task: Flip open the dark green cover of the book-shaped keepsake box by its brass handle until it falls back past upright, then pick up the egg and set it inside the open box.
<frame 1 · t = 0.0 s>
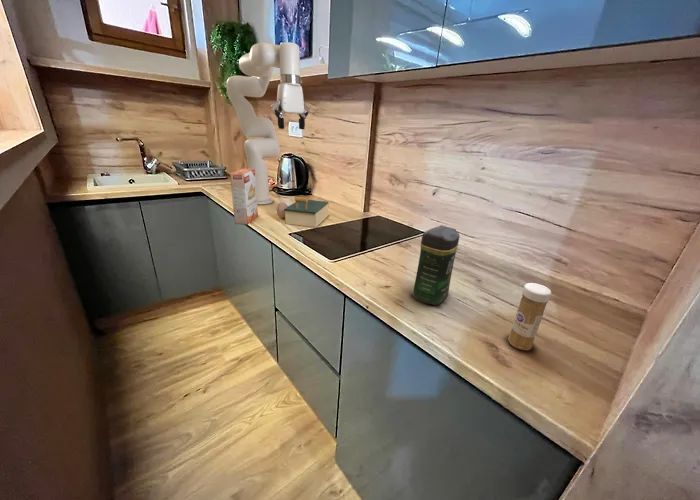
hand: (291, 128, 124), 37 cm above the table, tool pointing down, fingers open, 9 cm apart
egg: (283, 218, 136), on the table
book cover: (307, 200, 132), point 9 cm above the table, hinge at -0.1°
book box: (307, 219, 135), on the table
cracker box: (247, 220, 131), on the table
coffee jar: (430, 296, 79), on the table
sprinkles bottle: (519, 344, 63), on the table
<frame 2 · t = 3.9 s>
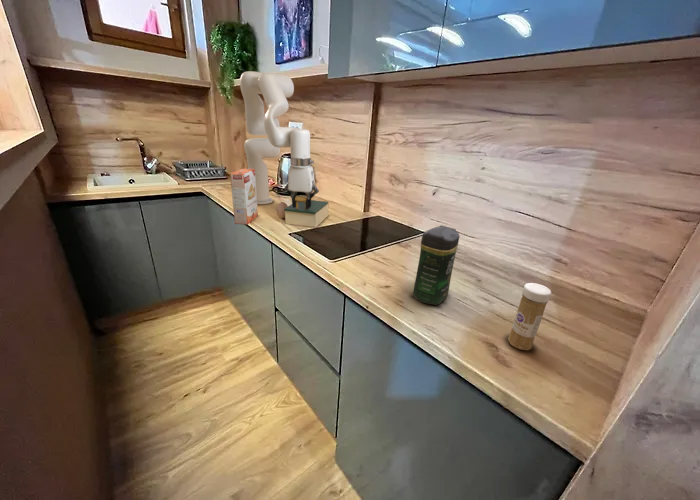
hand: (301, 207, 126), 7 cm above the table, tool pointing down, fingers closed on book cover, 5 cm apart
book cover: (307, 200, 132), point 9 cm above the table, hinge at -0.1°, touching gripper
everything else where it was.
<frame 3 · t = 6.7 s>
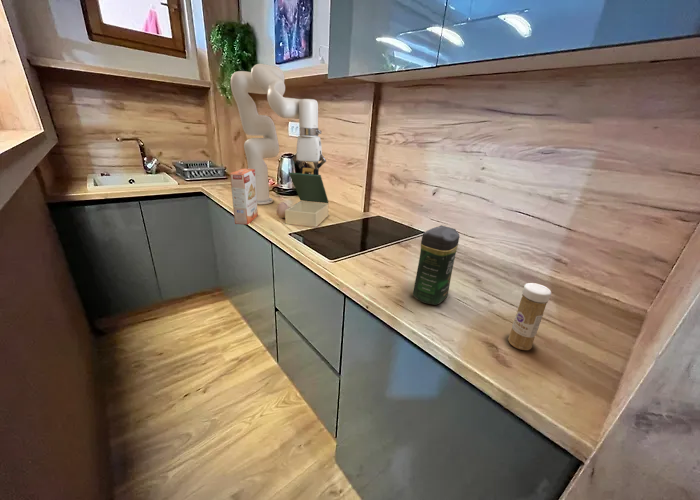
hand: (309, 177, 130), 18 cm above the table, tool pointing down, fingers closed on book cover, 5 cm apart
book cover: (311, 184, 134), point 15 cm above the table, hinge at 49.7°, touching gripper
everything else where it was.
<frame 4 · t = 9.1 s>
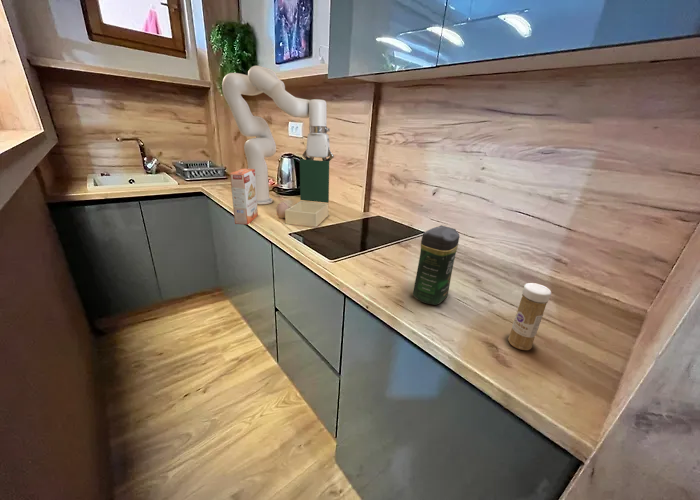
hand: (318, 172, 141), 19 cm above the table, tool pointing down, fingers closed on book cover, 5 cm apart
book cover: (316, 180, 140), point 15 cm above the table, hinge at 90.6°, touching gripper
everything else where it was.
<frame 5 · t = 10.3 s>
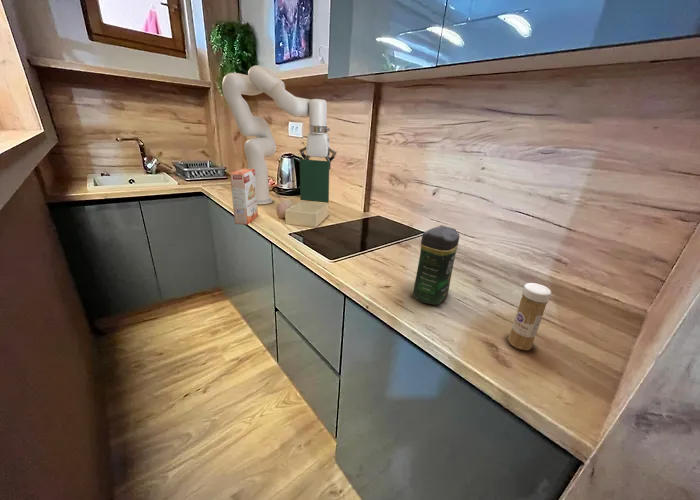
hand: (317, 169, 140), 20 cm above the table, tool pointing down, fingers open, 9 cm apart
book cover: (316, 180, 140), point 15 cm above the table, hinge at 90.7°
everything else where it was.
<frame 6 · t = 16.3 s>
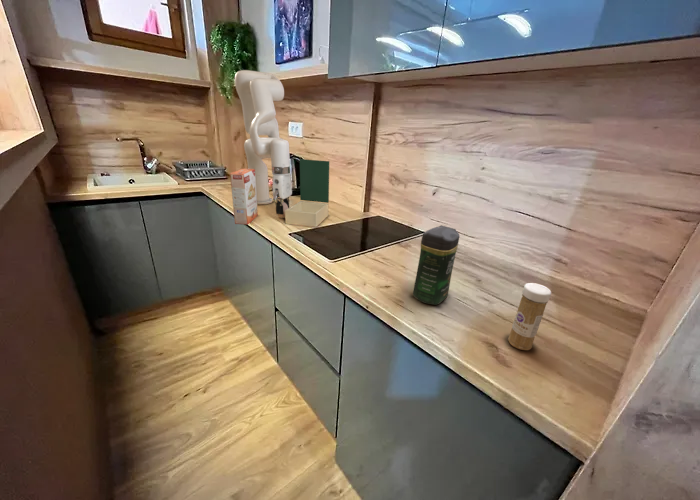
hand: (282, 211, 135), 3 cm above the table, tool pointing down, fingers closed on egg, 5 cm apart
egg: (283, 218, 136), on the table, touching gripper
everything else where it was.
when the fingers open (4 cm above the table, at t = 23.4 s): egg stays where it is, resting on book box.
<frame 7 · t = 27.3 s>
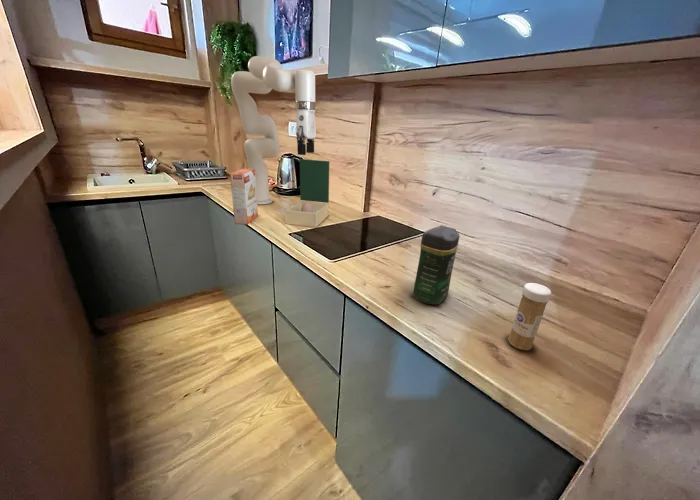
hand: (306, 153, 123), 28 cm above the table, tool pointing down, fingers open, 9 cm apart
egg: (307, 218, 134), point 1 cm above the table, touching book box
everything else where it was.
at the end: book cover at +91° (first picture: +0°); egg inside the target area in the book box (1.0 cm from its centre), point 0.6 cm above the book box's base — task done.
